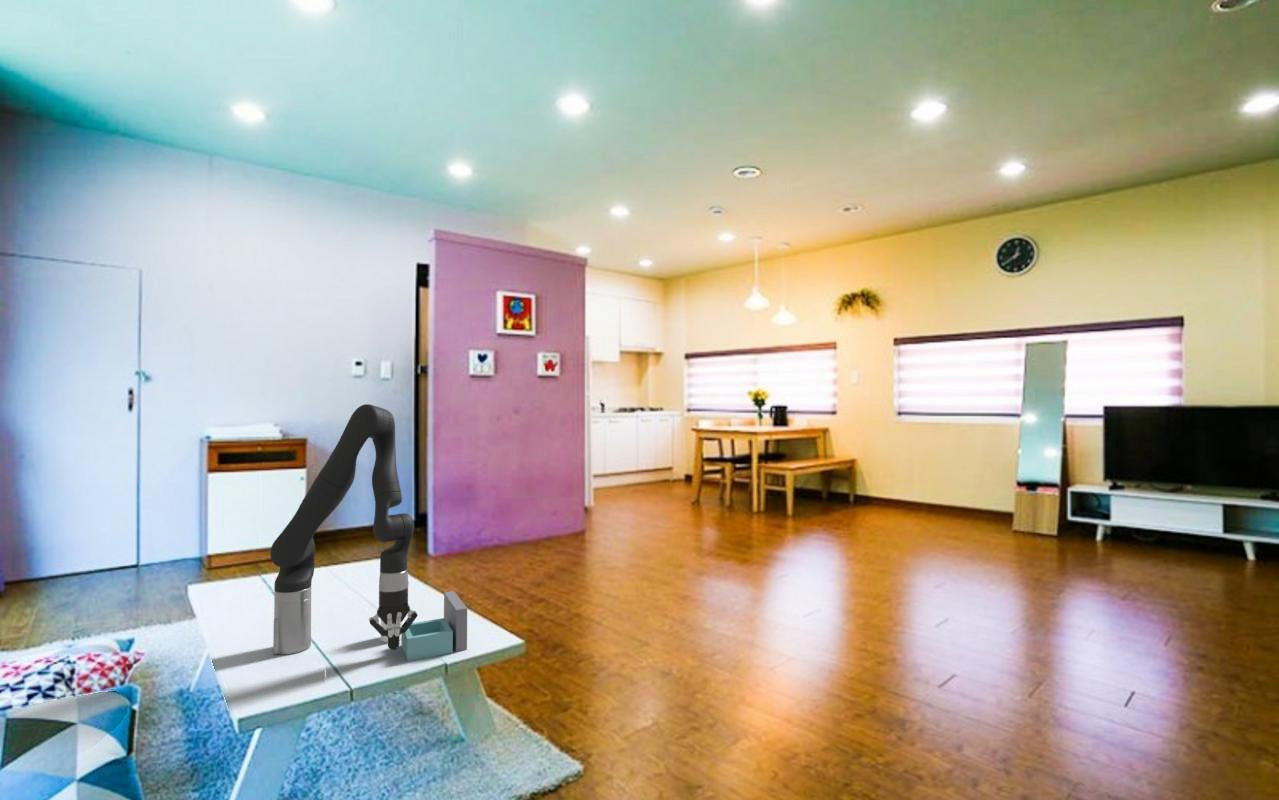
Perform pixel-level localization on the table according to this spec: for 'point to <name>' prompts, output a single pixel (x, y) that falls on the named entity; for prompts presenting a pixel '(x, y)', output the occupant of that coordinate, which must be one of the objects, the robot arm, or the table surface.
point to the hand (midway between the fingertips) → (393, 649)
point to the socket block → (427, 639)
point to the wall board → (456, 619)
